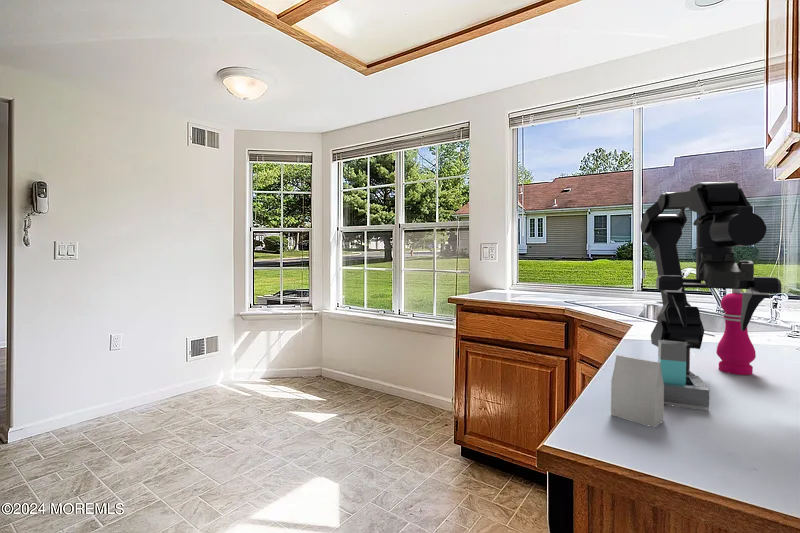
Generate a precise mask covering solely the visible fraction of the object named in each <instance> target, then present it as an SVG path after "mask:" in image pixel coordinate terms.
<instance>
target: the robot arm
mask: <svg viewBox="0 0 800 533" xmlns="http://www.w3.org/2000/svg"><path fill="white" fill-rule="evenodd" d="M739 186H740V184H739V183H738V182H737V181H713V182H712V181H711V182H709V181H708V182H707V181H706V182H698V183H696V184H693V185H692V186H690V188H689V190H682V191H671V192H669V191H668V192H666V191H665V192H664V193H661V194H660V195H659V197H658V199H657V201H656V202H655V203H653V204H652V205H651V206H650V207H649V208H647V209H646V210H645V212H644V214H643V216H642V220H641V223H640V231H641V233H642V234H643V238H644V242H645V243H646V244H647V245H648V247H650V248H651V249H652V250H653V253H654V259H655V265H656V271H657V277H656V279H655V288H656V289H657V291H660V295H661V301H662V307H661V309H660V311H659V313H658V314H657V318H656V320H657V321H656V324H655V326H654V328H653V330H652V332H651V333H650V342H651V344H652V345H653V346H655V347H657V348H658V340H667V341H680V342H683V343H684V344H685V345H686V375H695V376H696V374H695V373H694V372H692V371H691V370H690V366H691V349H696V350H701V347H702V344H703V338H704V333H705V328H704V325H703V322H702V319H701V314H700V310H699V308H698V307H697V306H693V305H691V304H690V303H689V302H688V298H687V295H686V289H691V288H692V289H720V290H721V289H722V290H723V289H724V290H725V289H727V290H732V289H742V290H746V292H742V294H743V297H742V309H741V330H742V331H745V330H746V328H747V329H748V326H749V324H750V321H751V319H752V317H753V315H754V312H755V311H756V309H757V308H758V306H759V305H760V304H761V302H763V301H764V300H765V299H771V298H772V295H771V294H782V282H781V280H780V279H779V278H778V277H772V276H755V266H754V265H755V263H754V262H753V261H752V260H739V261H738V262H736V261H735V252H734V247H749V246H754V245H756V244H759V243H760V242H762V240H763V239H764V237H765V236H766V233H767V225H766V224H765V221H764V220H763V218H762V217H761V216H759V215H758V214H756V213H754V206H753V205H752V204H751V203H750V202H749V200H748V199H747V196H746V195H745V193H744V191H743V189H742V188H741V187H739ZM686 209H688V210H689V211H692V212H695V213H696V214H697V215H698V217H697V218H696V219H695V220H694V221H693V223H692V224H693V226H696V251H695V252H696V254H695V256H696V257H695V258H696V259H695V261H696V262H695V278H683V272H682V267H681V262H680V257H679V252H678V247H677V246H678V245H677V244H678V243H679V241H680V239H681V237H682V235H683V229H684V227H685V225H686V224H687V221H688V219H687V215H686V214H685V210H686ZM666 210H679V213H678V214H675V213H674V214H671V213H670V214H669V213H668V214H663V212H664V211H666Z"/></svg>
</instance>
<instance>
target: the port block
mask: <svg viewBox="0 0 800 533" xmlns="http://www.w3.org/2000/svg"><path fill="white" fill-rule="evenodd" d="M663 384H664V404H666V405H665V406H668V405H671V406H670V407H676V406H677V407H676V408H686V409H691V408H693V410H701V411H706V412H708V411H709V412H710V389H709V387H707V385H706V384H705V382H703V381H702V379H701V378H700V377H699V375H696V374H695V375H686V385H680V384H671V383H663ZM672 405H673V406H672Z"/></svg>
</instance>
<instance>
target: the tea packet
mask: <svg viewBox="0 0 800 533" xmlns="http://www.w3.org/2000/svg"><path fill="white" fill-rule="evenodd" d="M610 382H611V388H610V416H612V415H613V416H612V417H616V416H617V418H619V417H620V419H623V420H626V419H627V421H630V420H631V422H633V421H635V422H634V423H637V422H638V423H637V424H640V423H642V424H641V425H644V424H645V425H644V426H647V425H649V426H648V427H651V426H652V427H651V428H654V427H655V428H656V427H657V425H658V426H659V425H660V423H661V422H662V423H664V410H665V408H664V406H665V405H664V384H663V378H662V371H661V363H660V362H658V361H654V360H649V359H648V360H647V359H641V358H636V357H631V356H627V355H626V356H624V355H618V354H617V355H615V361H614V368H613V372H612V376H611V381H610ZM662 423H661V424H662Z"/></svg>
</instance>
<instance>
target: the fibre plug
mask: <svg viewBox="0 0 800 533" xmlns="http://www.w3.org/2000/svg"><path fill="white" fill-rule="evenodd" d="M657 348H658V349H657V350H658V351H657V352H658V353H657V362H660V363H661V371H662V378H663V383H671V384H680V385H686V345H685V344H684V343H683V342H680V341H667V340H658V347H657Z"/></svg>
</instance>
